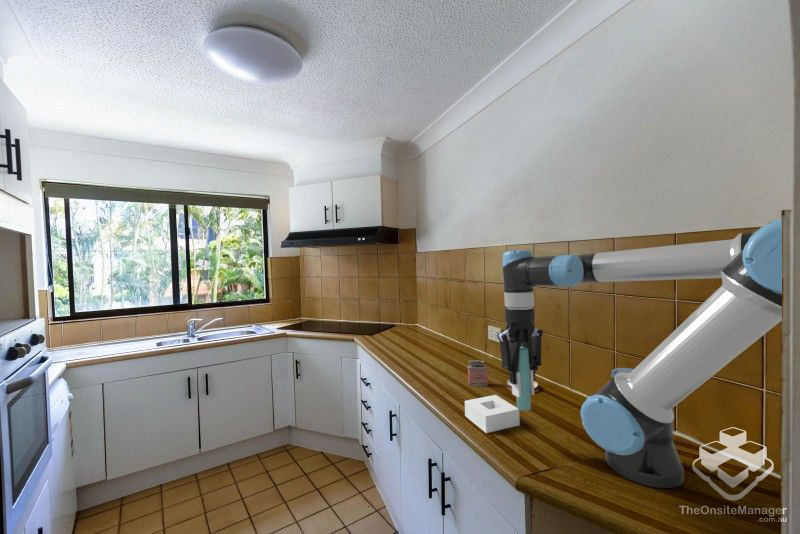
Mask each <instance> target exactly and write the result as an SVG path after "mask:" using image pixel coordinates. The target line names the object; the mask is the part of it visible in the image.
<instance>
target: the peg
mask: <svg viewBox="0 0 800 534" xmlns="http://www.w3.org/2000/svg"><path fill="white" fill-rule="evenodd" d="M517 372H520V379H521V397H520V398H519V397H517V396H515V397H516V398H515V399H516V408H518V409H519V411H531V410H532V402H531V401H532V400H531V399H532V398H531V394H530V376H529V354H528V348H525V347H523V346H521V347H520V351H519V361H518V371H517Z"/></svg>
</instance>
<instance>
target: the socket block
mask: <svg viewBox="0 0 800 534" xmlns="http://www.w3.org/2000/svg"><path fill="white" fill-rule="evenodd" d="M464 416H465V417H466V418H467V419H468V420H469V421H471V422H472V423H473V424H475V425H476V426H477V427H478V428H479V429H480V430H482V432H484V433H485V434H489V433H493V432H496V431H497V432H498V431H501V430H502V431H503V430H506V429H509V428H513V427H518V426H519V427H520V425H521V424H520V423H521V421H520V409H518V408H517V406H515V405H513V404H511V403H510V402H509V401H506V400H505V399H503V398H502V397H500V396H498V395H497V394H493V395H488V396H487V395H486V396H483V397H477V398H471V399H469V400H468V399H467V400H464Z"/></svg>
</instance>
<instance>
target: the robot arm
mask: <svg viewBox="0 0 800 534" xmlns="http://www.w3.org/2000/svg"><path fill="white" fill-rule="evenodd" d="M781 218H782V217H781ZM781 218H778V219H776V220H773V221H770V222H768V223H767V224H766V225H763V226H761V227H760V228H759V229H757V230H756V231H750V232H741V233H739V234H738V235H736V236H735V237H734V238H733V239H723V240H713V241H711V240H710V241H705V242H704V241H703V242H693V243H683V244H673V245H665V246H656V247H646V248H645V247H644V248H635V249H634V248H633V249H624V250H615V251H607V252H606V251H605V252H597V253H586V254H584V253H583V254H576V255H575V254H559V255H547V256H533V253H532V251H531V250H529V249H521V250H520V249H518V250H507V251H505V252H504V253H503V254H502V267H501V268H502V273H503V274H502V275H503V277H502V278H503V295H504V296H503V297H504V306H505V307H506V308H505V309H504V319H505V323H506V327H505V330H504V331H503V332H501V333H500V332H499V333H497V334H496V337H497V339H498V341H499V347H500V358H501V368H502V369H503V370H505V371H507V372H509V373H508V375H509V377H508V378H509V379H510V383H511V384H512V391H511V394H512V395H513V396H515V397H516V396H517V397H519V398H520V397H521V379H520V372H517V371H518V361H519V351H520V347H525V348H528V354H529V376H530V396H531V395H535V393H534V381H535V382H536V371H538V369H539V367H541V366H542V337H543V334H544V330H543V329H540V328H536V327H535V324H534V322H536V320H535V319H536V318H535V317H536V315H535V309H534V308H533V307H535V295H534V294H535V293H534V287H539V286H541V287H560V288H565V287H566V288H567V287H576V286H579V285H580V284H587V283H605V282H606V283H607V282H608V283H610V282H635V281H636V282H639V281H642V282H644V281H664V280H665V281H668V280H669V281H671V280H695V279H698V280H699V279H700V280H702V279H703V280H704V279H721V281H722V282H721V283H722V284H721V286H720V287H719V288H717V289H716V290H715V291H714V292H713V293H711V295H710V296H709V297H708V298H707V299H706V300H705V301H704V302H703V303H702V304H700V305H699V307H697V308H696V309H695V311H693V312H692V313H691V314H690V315H689V316H688V317H687V318H686V319H685V320H684V321H683V322H682V323H681V324H680V325H679V326H678V327H677V328H675V330H673V332H671V333H670V334H669V335H668V336H667V337H666V338H665V339H664V340H663V341H662V342H661V343H660V344H659V345H657V346H656V348H655V349H654V350H653V351H651V352H650V353H649V355H647V356H646V357H645V358H643V360H642V361H641V362H640V363H639V364H638V365H636V367H634V368H629V367H627V368H626V367H617V368H614V369H612V371H611V375H610V378H611V379H610V380H609V381H607V382H606V384H605V385H604V386H603V387H601V389H599V390H598V391H597V392H596V393H595V394H593V395H591V396H588V397H587V398H586V399H585V401H584V402H583V404H582V405H581V407H580V418H581V423H582V426H583V428H584V430H585V432H586V434H587V435H588V436H589V437H590V439H592V441H593V442H594V443H596V444H597V445H598V447H601V448H602V449H603V450H605V451H604V452H605V461H606V463H607V465H608V466H609V467H610V468H611V469H612V470H613V471H615V472H616V473H617V474H618V475H620V476H622V477H623V478H626V479H628V480H630V481H632V482H635V483H638V484H640V485H643V486H648V487H651V488H652V487H653V488H657V489H658V488H659V489H673V488H674V489H675V488H677V487H680V486H682V485H683V483H684V481H685V470H684V466H683V464H682V461H681V460H680V456H679V454H678V451H677V449H676V447H675V443H674V423H673V421H674V419H675V414H674V409H673V408H674V407H676V406H678V404H679V403H681V402H682V401H683V400H684V399H686V398H687V397H688V396H689V395H690V394H692V393H693V392H694V391H695V390H697V389H698V388H699V387H701V386H702V385H703V384H704V383H705V382H707V381H708V380H709V379H711V378H712V377H714V376H715V374H717V373H718V372H720V370H721V369H723V368H725V367H726V366H727V365H728V364H729V363H730V362H732V361H733V360H734V359H735V358H737V357H739V355H741V354H742V353H743V352H744V351H745V350H747V349H748V348H749V347H750V346H752V345H753V344H754V343H756V342H757V341H758V340H759V339H760V338H762V337H763V336H764V335H765V334H766V333H768V332H770V330H771V329H773V328H774V327H776V325H778V324H779V323H780V322H781V321H783V320H782V223H781Z"/></svg>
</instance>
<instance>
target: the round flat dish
mask: <svg viewBox="0 0 800 534" xmlns="http://www.w3.org/2000/svg"><path fill="white" fill-rule="evenodd" d="M505 384H506V389H508V391H509V392H512V384H511V383H510V378H508V379H506V381H505ZM539 391H540V384H539V383H538V382H537V381H536V380H535V381H534V394H535V393H538V392H539Z"/></svg>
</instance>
